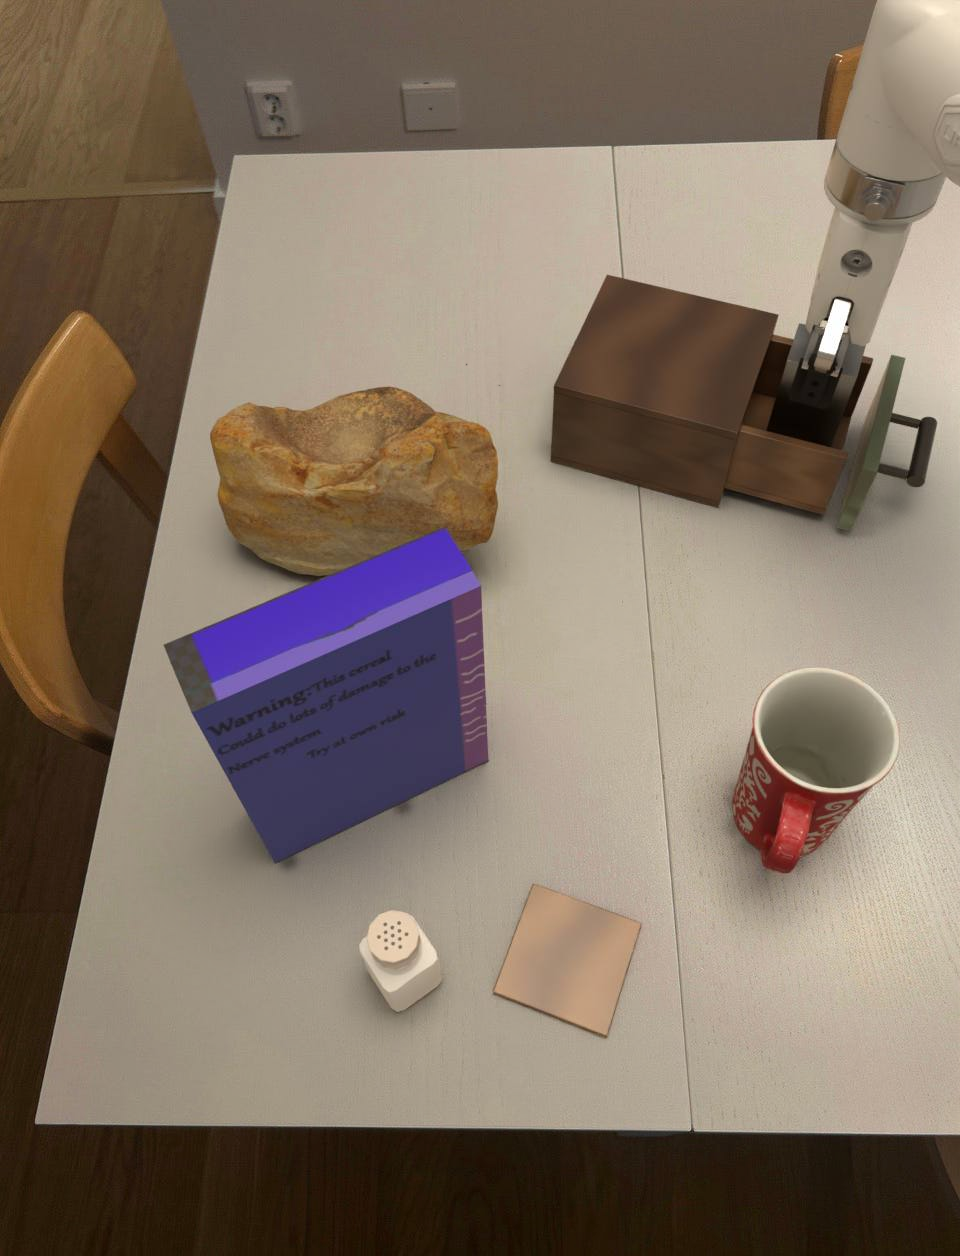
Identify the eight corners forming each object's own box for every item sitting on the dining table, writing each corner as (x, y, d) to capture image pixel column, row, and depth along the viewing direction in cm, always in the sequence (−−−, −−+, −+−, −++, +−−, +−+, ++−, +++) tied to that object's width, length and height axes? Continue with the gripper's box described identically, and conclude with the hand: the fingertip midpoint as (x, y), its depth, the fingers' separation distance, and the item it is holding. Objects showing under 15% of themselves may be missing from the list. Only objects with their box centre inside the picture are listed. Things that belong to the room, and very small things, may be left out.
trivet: (641, 924, 74) (641, 922, 74) (606, 1037, 70) (606, 1036, 70) (532, 885, 76) (533, 883, 75) (493, 993, 72) (492, 991, 71)
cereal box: (460, 712, 83) (444, 524, 63) (488, 761, 81) (481, 583, 60) (251, 809, 79) (162, 642, 59) (275, 863, 77) (190, 710, 57)
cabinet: (757, 393, 100) (779, 314, 92) (718, 508, 93) (738, 433, 85) (599, 354, 104) (606, 274, 95) (550, 461, 96) (553, 385, 88)
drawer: (925, 433, 96) (956, 369, 89) (900, 545, 89) (932, 485, 83) (723, 382, 100) (738, 318, 93) (685, 486, 93) (698, 425, 87)
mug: (740, 736, 81) (778, 645, 70) (857, 782, 79) (916, 696, 68) (684, 881, 76) (715, 808, 64) (809, 936, 73) (864, 870, 62)
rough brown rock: (526, 467, 97) (525, 332, 85) (493, 608, 87) (487, 478, 76) (284, 441, 101) (251, 308, 89) (226, 574, 91) (180, 444, 79)
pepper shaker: (365, 968, 73) (347, 927, 65) (414, 934, 74) (402, 890, 66) (397, 1017, 71) (382, 982, 63) (446, 982, 72) (438, 943, 64)
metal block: (830, 437, 95) (867, 338, 85) (820, 473, 92) (857, 377, 83) (769, 421, 96) (799, 322, 86) (758, 457, 94) (786, 360, 84)
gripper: (922, 266, 66) (846, 449, 81) (962, 109, 74) (887, 301, 89) (802, 239, 68) (749, 424, 82) (854, 88, 76) (798, 280, 90)
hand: (821, 360), depth 86 cm, fingers open, 9 cm apart
